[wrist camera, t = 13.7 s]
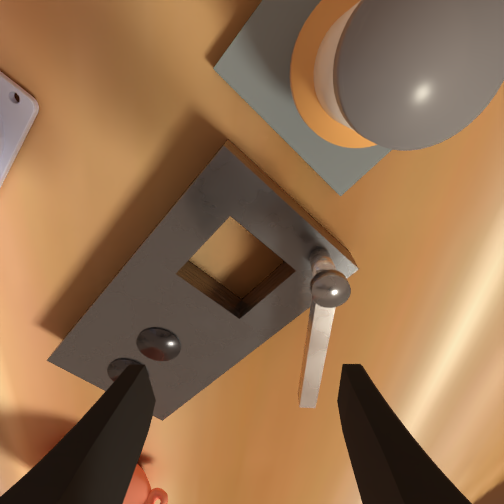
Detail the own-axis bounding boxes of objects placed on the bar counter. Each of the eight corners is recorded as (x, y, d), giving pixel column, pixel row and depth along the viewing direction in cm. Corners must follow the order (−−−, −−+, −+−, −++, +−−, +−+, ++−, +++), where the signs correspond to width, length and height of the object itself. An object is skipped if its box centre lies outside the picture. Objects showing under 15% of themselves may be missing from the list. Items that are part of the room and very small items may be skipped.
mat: (214, 69, 15) (213, 68, 14) (346, -114, 12) (350, -123, 11) (338, 192, 17) (340, 196, 17) (470, 71, 14) (478, 71, 14)
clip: (289, 372, 21) (293, 414, 19) (305, 243, 17) (313, 275, 14) (315, 373, 21) (323, 415, 19) (338, 244, 17) (353, 277, 14)
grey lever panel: (62, 339, 24) (45, 361, 22) (227, 139, 16) (223, 146, 14) (169, 398, 27) (162, 421, 25) (350, 252, 19) (359, 270, 17)
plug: (273, 123, 15) (284, 155, 9) (305, -23, 12) (357, -140, 6) (380, 147, 16) (469, 194, 9) (434, 11, 13) (617, -64, 6)
